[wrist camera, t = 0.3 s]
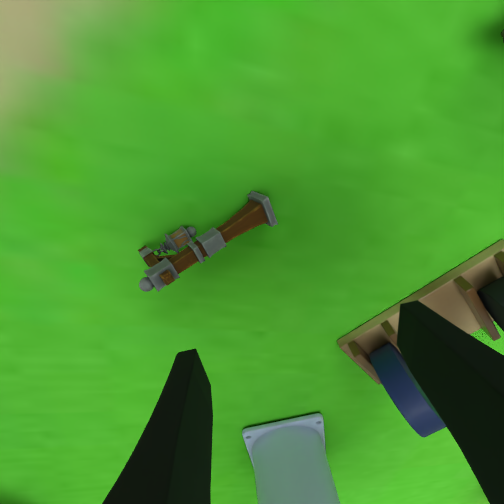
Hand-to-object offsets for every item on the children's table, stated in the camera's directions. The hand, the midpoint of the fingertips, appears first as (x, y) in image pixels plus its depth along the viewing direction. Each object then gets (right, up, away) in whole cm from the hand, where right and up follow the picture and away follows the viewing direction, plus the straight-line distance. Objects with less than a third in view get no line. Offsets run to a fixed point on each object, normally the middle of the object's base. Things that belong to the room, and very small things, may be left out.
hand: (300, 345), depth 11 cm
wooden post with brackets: (-4, +5, +8) cm, 11 cm away
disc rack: (+13, -2, +15) cm, 20 cm away
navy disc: (+9, -5, +15) cm, 19 cm away
